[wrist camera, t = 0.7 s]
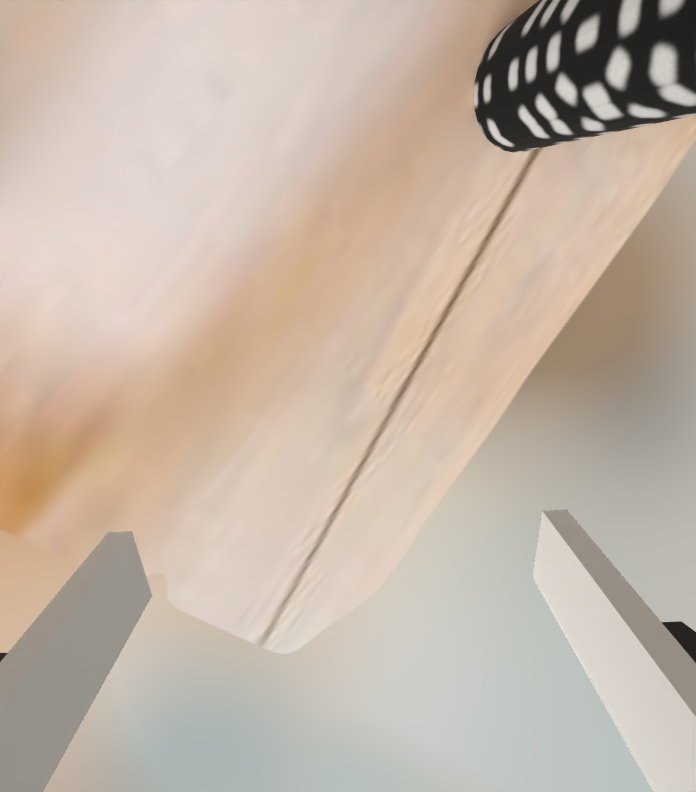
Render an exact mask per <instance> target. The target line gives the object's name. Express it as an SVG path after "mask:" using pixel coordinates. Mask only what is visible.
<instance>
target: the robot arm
mask: <svg viewBox="0 0 696 792" xmlns="http://www.w3.org/2000/svg"><path fill="white" fill-rule="evenodd" d="M533 579H534V581H535V583H536V584H537V586H538V588H539V590H540V592H541V593H542V595H543V597H544V599H545V600H546V602H547V604H548V606H549V607H550V609H551V611H552V613H553V615H554V616H555V618H556V620H557V622H558V624H559V625H560V627H561V629H562V631H563V632H564V634H565V636H566V638H567V640H568V641H569V643H570V645H571V647H572V648H573V650H574V652H575V654H576V655H577V657H578V659H579V661H580V663H581V664H582V666H583V668H584V670H585V671H586V673H587V675H588V677H589V679H590V680H591V682H592V684H593V685H594V687H595V689H596V691H597V693H598V694H599V696H600V698H601V700H602V702H603V703H604V705H605V707H606V709H607V710H608V712H609V714H610V716H611V718H612V719H613V721H614V723H615V725H616V726H617V728H618V730H619V732H620V733H621V735H622V737H623V739H624V741H625V742H626V744H627V746H628V748H629V749H630V751H631V753H632V755H633V757H634V758H635V760H636V762H637V764H638V765H639V767H640V769H641V771H642V773H643V774H644V776H645V778H646V780H647V781H648V783H649V785H650V787H651V788H652V790H653V792H696V632H695V631H693V630H692V629H691V628H689V627H688V626H687V625H685V624H684V623H683V622H661V621H660V620H659V619H658V618H657V616H656V615H655V614H654V613H653V612H652V610H651V609H650V608H649V607H648V606H647V605H646V603H645V602H644V601H643V600H642V599H641V597H639V595H638V594H637V593H636V592H635V590H634V589H633V588H632V587H631V585H630V584H629V583H628V582H627V581H626V580H625V578H624V577H623V576H622V575H621V574H620V572H619V571H618V570H617V569H616V568H615V567H614V565H613V564H612V563H611V562H610V560H609V559H608V558H607V557H606V556H605V555H604V554H603V552H602V551H601V550H600V549H599V547H598V546H597V545H596V544H595V543H594V542H593V540H592V539H591V538H590V537H589V536H588V534H587V533H586V532H585V531H584V530H583V528H582V527H581V526H580V525H579V524H578V522H577V521H576V520H575V519H574V518H573V516H572V515H571V514H570V513H569V512H568V510H554V511H543V512H542V518H541V525H540V532H539V539H538V545H537V552H536V559H535V565H534V572H533ZM151 597H152V594H151V590H150V587H149V584H148V581H147V578H146V575H145V572H144V568H143V565H142V562H141V559H140V556H139V553H138V550H137V546H136V543H135V540H134V537H133V534H132V531H131V532H111V533H107V535H106V536H105V537H104V538H103V539H102V541H101V542H100V543H99V544H98V545H97V547H96V548H95V549H94V550H93V551H92V553H91V554H90V555H89V556H88V557H87V559H86V560H85V561H84V562H83V563H82V565H81V566H80V567H79V568H78V569H77V571H76V572H75V573H74V574H73V575H72V577H71V578H70V579H69V580H68V581H67V583H66V584H65V585H64V586H63V587H62V589H61V590H60V591H59V592H58V593H57V595H56V596H55V597H54V598H53V600H52V601H51V602H50V603H49V604H48V606H47V607H46V608H45V609H44V610H43V612H42V613H41V614H40V615H39V616H38V618H37V619H36V620H35V621H34V622H33V623H32V625H31V626H30V627H29V628H28V629H27V631H26V632H25V633H24V635H22V637H21V638H20V639H19V640H18V641H17V643H16V644H15V645H14V646H13V647H12V649H11V650H10V651H9V652H8V653H0V792H43V791H44V789H45V787H46V785H47V783H48V782H49V780H50V778H51V776H52V774H53V773H54V771H55V769H56V767H57V765H58V764H59V762H60V760H61V758H62V756H63V755H64V753H65V751H66V749H67V747H68V746H69V744H70V742H71V740H72V738H73V737H74V735H75V733H76V731H77V729H78V728H79V726H80V724H81V722H82V720H83V719H84V717H85V715H86V713H87V712H88V710H89V708H90V706H91V704H92V702H93V701H94V699H95V697H96V695H97V694H98V692H99V690H100V688H101V686H102V685H103V683H104V681H105V679H106V677H107V676H108V674H109V672H110V670H111V668H112V667H113V665H114V663H115V661H116V659H117V658H118V656H119V654H120V652H121V650H122V648H123V647H124V645H125V643H126V642H127V640H128V638H129V636H130V634H131V632H132V631H133V629H134V627H135V625H136V623H137V622H138V620H139V618H140V616H141V615H142V613H143V611H144V609H145V607H146V606H147V604H148V602H149V600H150V598H151Z"/></svg>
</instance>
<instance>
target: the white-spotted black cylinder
mask: <svg viewBox="0 0 696 792" xmlns="http://www.w3.org/2000/svg"><path fill="white" fill-rule="evenodd" d="M474 106H475V112H476V116H477V120H478V123H479V125H480V127H481V130H482V132H483V133H484V134H485V136H486V137H487V139H488V140H489V141H490V142H492V143H493V144H494V145H495V146H497V147H499V148H501V149H502V150H505V151H510V152H523V151H528V150H533V149H537V148H542V147H547V146H552V145H556V144H561V143H566V142H570V141H575V140H580V139H585V138H589V137H594V136H599V135H603V134H608V133H613V132H617V131H622V130H627V129H632V128H636V127H641V126H646V125H650V124H655V123H660V122H665V121H669V120H674V119H679V118H683V117H688V116H693V115H696V0H539V1H538V2H537V3H536V4H534V5H533V6H532V7H530V8H529V9H528V10H527V11H525V12H524V13H523V14H521V15H520V16H519V17H518V18H516V19H515V20H514V21H512V22H511V23H510V24H509V25H507V26H506V27H505V28H504V29H503V30H502V31H500V32H499V33H498V34H497V36H496V37H495V38H494V39H493V40H492V42H491V43H490V44H489V46H488V48H487V50H486V51H485V53H484V55H483V57H482V60H481V62H480V65H479V67H478V71H477V75H476V80H475V87H474Z"/></svg>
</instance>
